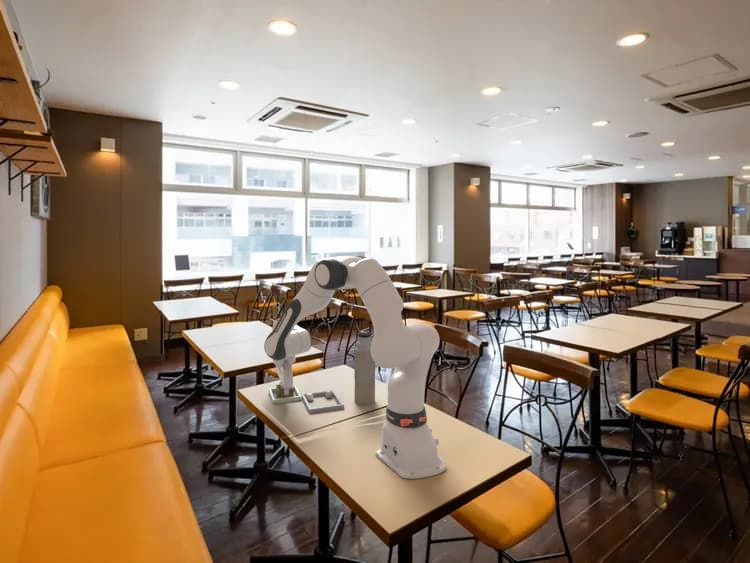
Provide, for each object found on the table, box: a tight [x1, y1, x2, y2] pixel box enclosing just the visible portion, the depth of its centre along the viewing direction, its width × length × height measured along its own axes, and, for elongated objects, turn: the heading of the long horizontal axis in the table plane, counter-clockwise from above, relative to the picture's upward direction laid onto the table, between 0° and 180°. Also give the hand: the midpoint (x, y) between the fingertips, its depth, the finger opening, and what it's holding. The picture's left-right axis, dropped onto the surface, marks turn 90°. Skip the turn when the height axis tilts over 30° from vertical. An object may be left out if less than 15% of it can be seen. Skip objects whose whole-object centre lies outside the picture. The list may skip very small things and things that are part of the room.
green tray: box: [268, 385, 302, 404], centre depth 178 cm, size 13×11×2 cm
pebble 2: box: [324, 390, 333, 399], centre depth 176 cm, size 3×3×3 cm
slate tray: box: [300, 389, 345, 414], centre depth 171 cm, size 16×13×2 cm
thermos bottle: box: [353, 332, 376, 406], centre depth 171 cm, size 8×8×28 cm
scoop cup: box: [275, 384, 295, 399], centre depth 177 cm, size 6×6×4 cm
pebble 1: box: [306, 392, 314, 402], centre depth 173 cm, size 3×3×3 cm
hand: (284, 391), depth 177 cm, fingers closed on scoop cup, 6 cm apart
